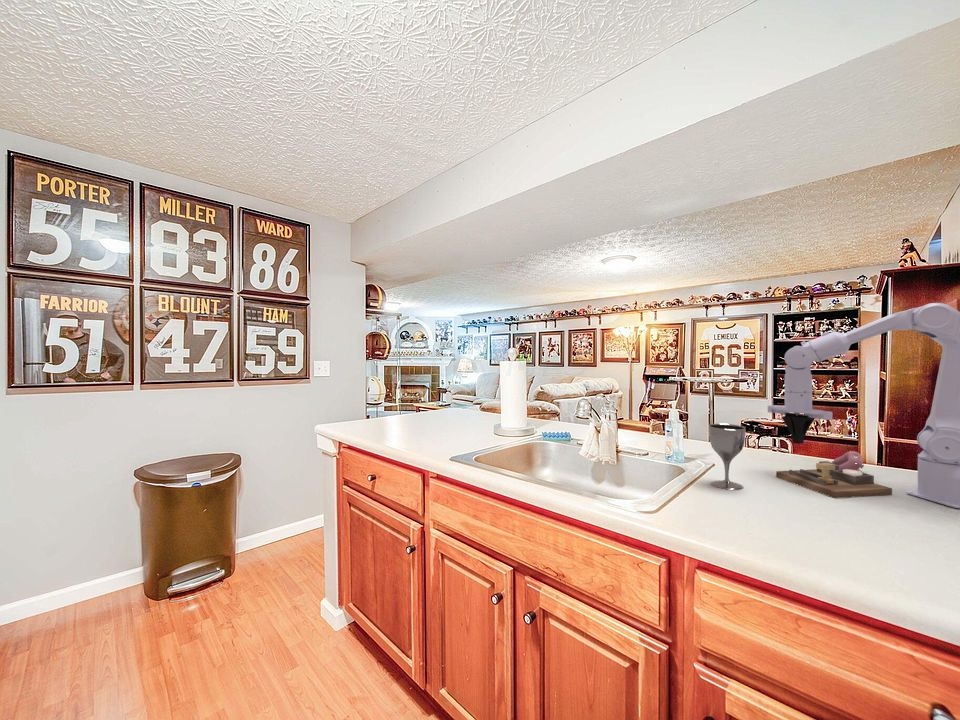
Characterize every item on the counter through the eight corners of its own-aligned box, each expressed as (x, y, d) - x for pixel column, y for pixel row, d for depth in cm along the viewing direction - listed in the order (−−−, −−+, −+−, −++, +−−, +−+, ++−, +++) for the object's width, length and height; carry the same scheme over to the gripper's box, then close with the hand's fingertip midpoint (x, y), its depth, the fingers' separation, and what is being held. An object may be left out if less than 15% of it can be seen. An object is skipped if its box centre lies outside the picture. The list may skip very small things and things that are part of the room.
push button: (866, 481, 99) (866, 473, 99) (853, 482, 98) (853, 473, 98) (851, 476, 102) (851, 468, 102) (838, 477, 102) (838, 469, 102)
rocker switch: (838, 469, 106) (839, 466, 105) (830, 470, 105) (830, 466, 105) (826, 464, 109) (827, 461, 109) (818, 465, 108) (819, 461, 108)
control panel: (891, 494, 95) (892, 479, 95) (834, 498, 93) (834, 483, 93) (826, 474, 111) (826, 461, 111) (776, 476, 109) (776, 463, 109)
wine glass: (709, 487, 101) (709, 428, 101) (708, 478, 108) (708, 422, 108) (747, 492, 98) (747, 430, 97) (743, 482, 105) (743, 424, 104)
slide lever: (835, 483, 98) (835, 465, 98) (824, 483, 98) (824, 465, 98) (826, 480, 100) (826, 462, 100) (815, 480, 100) (815, 463, 100)
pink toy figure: (853, 482, 108) (870, 461, 106) (833, 472, 111) (849, 451, 109) (848, 473, 116) (863, 453, 114) (829, 464, 119) (844, 444, 117)
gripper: (840, 393, 102) (839, 447, 102) (779, 388, 115) (779, 436, 116) (822, 395, 99) (822, 450, 100) (762, 390, 113) (762, 438, 113)
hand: (798, 443), depth 107 cm, fingers closed
